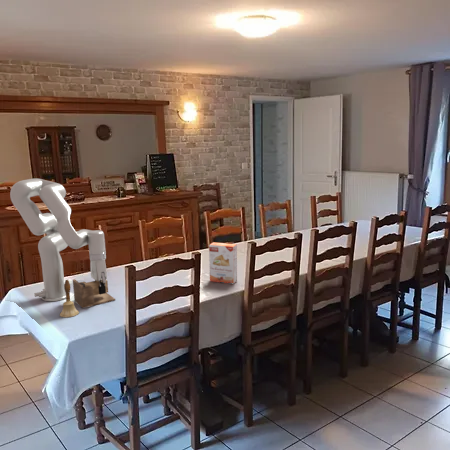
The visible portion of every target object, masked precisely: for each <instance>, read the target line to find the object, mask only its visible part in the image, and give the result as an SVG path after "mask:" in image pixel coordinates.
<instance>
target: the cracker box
mask: <svg viewBox="0 0 450 450" xmlns="http://www.w3.org/2000/svg"><path fill="white" fill-rule="evenodd" d="M237 245H238V244H237V243H236V244H235V243H225V242H214V241H213V242H211V243H210V244H209V245H208V248H209V249H208V250H209V251H208V252H209V254H208V256H209V257H208V258H209V259H208V261H209V282H214V283H220V282H224V283H223V284H228V283H234V284H235V283H236V282H237V281H238V249H237V248H238V246H237Z"/></svg>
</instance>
